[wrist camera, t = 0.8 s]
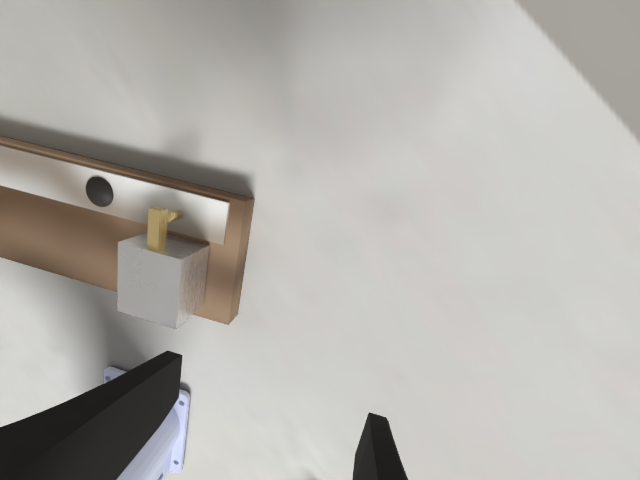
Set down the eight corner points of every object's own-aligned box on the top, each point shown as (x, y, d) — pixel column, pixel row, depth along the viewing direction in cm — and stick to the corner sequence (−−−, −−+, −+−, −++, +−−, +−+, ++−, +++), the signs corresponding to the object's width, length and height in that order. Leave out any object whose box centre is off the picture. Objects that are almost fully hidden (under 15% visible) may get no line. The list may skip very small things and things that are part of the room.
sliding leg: (202, 305, 21) (176, 329, 18) (151, 290, 21) (117, 311, 18) (213, 209, 19) (184, 219, 16) (156, 195, 19) (118, 201, 16)
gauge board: (237, 314, 22) (205, 351, 18) (-49, 230, 25) (-135, 245, 21) (254, 198, 20) (222, 209, 16) (-67, 119, 22) (-171, 109, 18)
